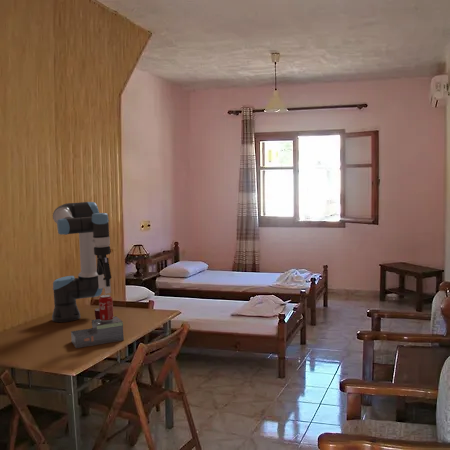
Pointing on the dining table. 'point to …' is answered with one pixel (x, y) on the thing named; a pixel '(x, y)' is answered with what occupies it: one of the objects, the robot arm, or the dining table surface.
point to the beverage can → (106, 308)
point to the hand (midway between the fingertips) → (104, 290)
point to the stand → (99, 333)
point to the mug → (97, 313)
